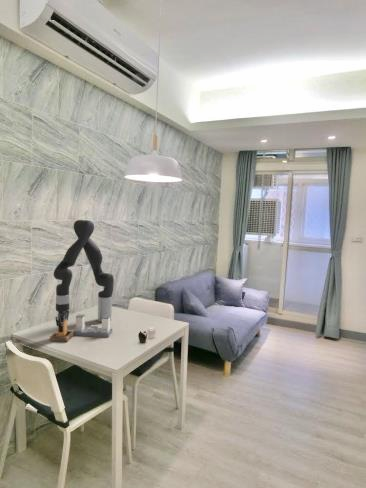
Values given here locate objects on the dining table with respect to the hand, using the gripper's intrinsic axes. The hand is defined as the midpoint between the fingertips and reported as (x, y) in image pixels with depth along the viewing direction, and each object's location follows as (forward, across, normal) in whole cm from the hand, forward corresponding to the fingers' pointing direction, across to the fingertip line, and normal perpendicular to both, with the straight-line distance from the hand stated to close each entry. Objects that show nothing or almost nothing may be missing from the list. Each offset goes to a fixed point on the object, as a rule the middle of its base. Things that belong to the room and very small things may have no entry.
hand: (62, 330), depth 189 cm
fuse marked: (+2, 0, 0) cm, 2 cm away
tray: (+5, 0, 0) cm, 5 cm away
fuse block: (+5, -10, +15) cm, 19 cm away
